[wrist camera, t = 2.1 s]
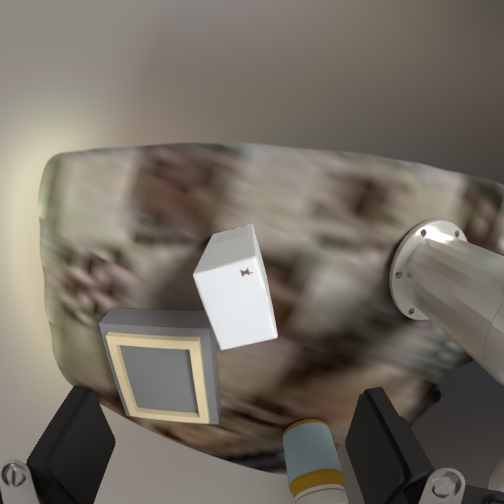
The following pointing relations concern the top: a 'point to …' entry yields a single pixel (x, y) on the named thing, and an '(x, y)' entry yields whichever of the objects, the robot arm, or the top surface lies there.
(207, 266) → the skincare box
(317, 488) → the bottle
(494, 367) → the robot arm
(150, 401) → the tray
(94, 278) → the top surface
